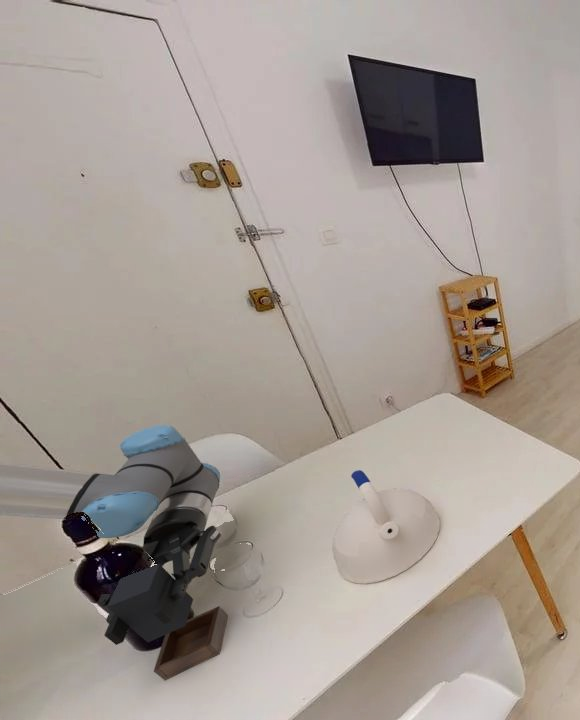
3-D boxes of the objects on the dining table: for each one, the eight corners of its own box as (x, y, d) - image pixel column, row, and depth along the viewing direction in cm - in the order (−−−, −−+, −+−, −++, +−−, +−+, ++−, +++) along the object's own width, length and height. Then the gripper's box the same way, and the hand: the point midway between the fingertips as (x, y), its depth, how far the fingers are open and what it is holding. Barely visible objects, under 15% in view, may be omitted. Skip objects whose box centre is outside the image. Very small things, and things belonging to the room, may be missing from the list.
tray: (164, 680, 68) (153, 671, 66) (177, 638, 74) (167, 628, 72) (219, 653, 71) (210, 644, 70) (228, 615, 77) (219, 605, 76)
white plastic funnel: (354, 607, 78) (315, 545, 69) (326, 542, 91) (291, 484, 82) (456, 539, 91) (435, 480, 82) (419, 491, 103) (397, 435, 94)
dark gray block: (147, 642, 66) (106, 607, 61) (158, 613, 70) (120, 578, 65) (185, 625, 68) (148, 590, 63) (193, 598, 72) (159, 563, 67)
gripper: (247, 514, 85) (227, 608, 68) (126, 559, 76) (69, 678, 59) (228, 489, 81) (202, 581, 64) (100, 532, 73) (30, 651, 56)
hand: (138, 627), depth 62 cm, fingers closed on dark gray block, 4 cm apart
